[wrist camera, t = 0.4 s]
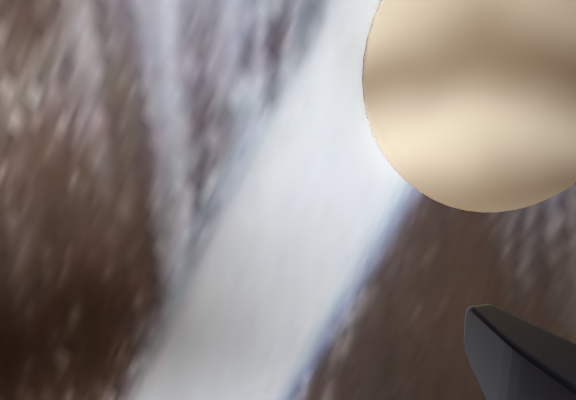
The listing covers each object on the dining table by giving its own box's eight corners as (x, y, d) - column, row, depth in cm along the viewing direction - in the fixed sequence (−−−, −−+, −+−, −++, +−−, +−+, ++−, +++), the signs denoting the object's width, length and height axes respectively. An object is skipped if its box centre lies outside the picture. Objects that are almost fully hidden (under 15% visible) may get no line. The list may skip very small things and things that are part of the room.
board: (637, 178, 24) (647, 181, 23) (381, 232, 23) (384, 237, 23) (657, -128, 19) (669, -133, 19) (341, -66, 19) (344, -70, 18)
